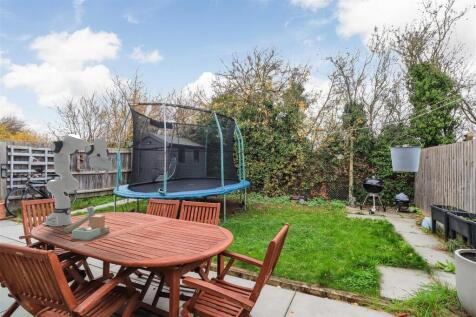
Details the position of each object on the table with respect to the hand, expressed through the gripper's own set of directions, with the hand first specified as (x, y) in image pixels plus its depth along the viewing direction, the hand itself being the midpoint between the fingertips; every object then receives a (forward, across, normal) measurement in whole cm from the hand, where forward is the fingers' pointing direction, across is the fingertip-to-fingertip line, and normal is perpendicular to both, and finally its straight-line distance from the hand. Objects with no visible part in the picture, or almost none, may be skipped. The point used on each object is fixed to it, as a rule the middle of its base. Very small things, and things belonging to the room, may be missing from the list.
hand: (101, 174), depth 220 cm
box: (+44, -1, -18) cm, 47 cm away
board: (+40, -12, -19) cm, 46 cm away
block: (+36, -13, -18) cm, 43 cm away
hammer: (+34, -16, -39) cm, 54 cm away
